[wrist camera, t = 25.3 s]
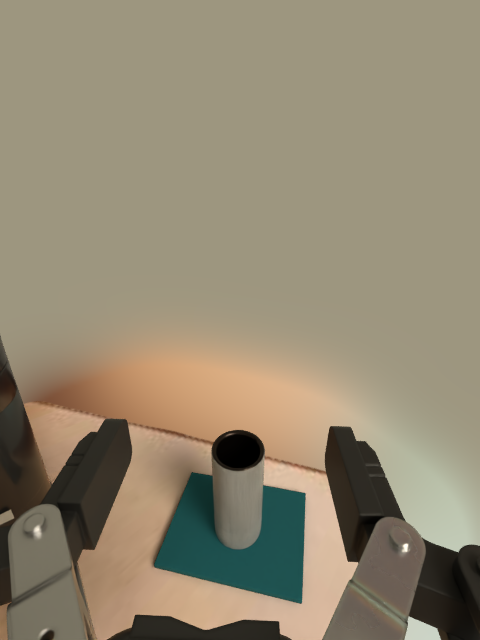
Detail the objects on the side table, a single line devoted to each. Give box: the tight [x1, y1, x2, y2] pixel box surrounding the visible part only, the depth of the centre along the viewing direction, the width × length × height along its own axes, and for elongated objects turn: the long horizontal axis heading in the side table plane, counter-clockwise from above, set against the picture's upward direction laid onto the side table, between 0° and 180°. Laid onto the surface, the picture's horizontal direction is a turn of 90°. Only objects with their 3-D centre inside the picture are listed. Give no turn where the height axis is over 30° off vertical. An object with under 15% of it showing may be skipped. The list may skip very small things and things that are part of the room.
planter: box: [212, 430, 265, 549], centre depth 30 cm, size 4×4×10 cm
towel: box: [154, 472, 306, 604], centre depth 32 cm, size 13×10×1 cm
